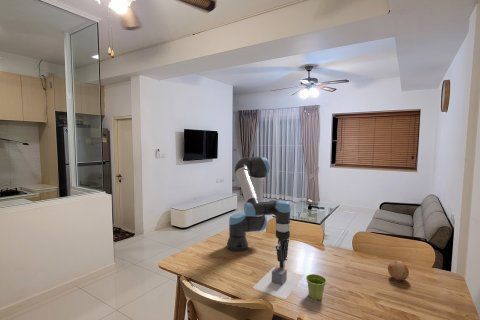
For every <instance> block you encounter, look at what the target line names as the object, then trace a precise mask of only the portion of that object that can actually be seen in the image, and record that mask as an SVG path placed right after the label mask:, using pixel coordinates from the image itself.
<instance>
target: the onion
mask: <svg viewBox="0 0 480 320" xmlns="http://www.w3.org/2000/svg"><path fill="white" fill-rule="evenodd" d="M387 272H388V274H389V275H390V277H391V278H393V279H394V280H396V281H404V280H406V279H407V278H408V277H409V276H410V271H409V267H408V266H407V265H406V263H405V262H403V261H402V260H396V259H395V260H392V261H390V262H389V263H388V265H387Z"/></svg>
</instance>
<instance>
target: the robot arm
mask: <svg viewBox="0 0 480 320" xmlns="http://www.w3.org/2000/svg"><path fill="white" fill-rule="evenodd" d="M269 173H270V163H269V161H268V159H267V157H265V156H264V157H263V156H250V157H249V156H246V157H242V158H240V159H239V160H237V162H236V164H235V167H234V174H235V177H236V178H237V179H238V182H239V186H240V188H241V193H242V194H243V198H244V202H245V203H244V204H243V212H238V213H234V214H232V215H230V216H229V219H228V220H229V221H228V227H229V228H228V229H229V233H228V234H229V237H228V240H227V242H226V248H227V250H228V251H229V250H230V251H231V250H232V251H233V252H241V251H242V252H243V251H245V250H248V248H249V243H248V240H247V236H246V235H247V234H246V233H253V232H260V231H262V232H263V231H265V229H266V228H267V225H268V220H267V216H270V215H271V216H273V215H274V216H275V237H276V238H277V245H276V246H275V249H276V250H275V251H276V258H277V262H279V267H280V268H283V269H286V262H287V261H288V252H289V251H288V250H289V243H290V239H289V238H291V237H290V236H291V231H290V229H291V203H290V202H289V201H287V200H277V199H276V200H275V199H270V200H268V201H264V182H265V178H267V174H269ZM232 251H231V252H232Z"/></svg>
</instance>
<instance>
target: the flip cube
mask: <svg viewBox="0 0 480 320" xmlns="http://www.w3.org/2000/svg"><path fill="white" fill-rule="evenodd" d="M275 267H276V268H275V269H274V270H273V271H272V283H276V284H279V285H283V284H284V283H285V282H286V281H287V271H288V270H287V269H286V268H285V269H283V268H280V266H275Z"/></svg>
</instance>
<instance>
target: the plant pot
mask: <svg viewBox="0 0 480 320" xmlns="http://www.w3.org/2000/svg"><path fill="white" fill-rule="evenodd" d="M305 280H306V282H307V288H308V295H309V296H308V297H310V298H311V299H313V300H316V301H317V300H322V299H323V294H324V291H325V290H324V289H325V286H326V283H327V279H326V277H324V276H323V275H320V274H316V273H310V274H307V275H306V276H305Z"/></svg>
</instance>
